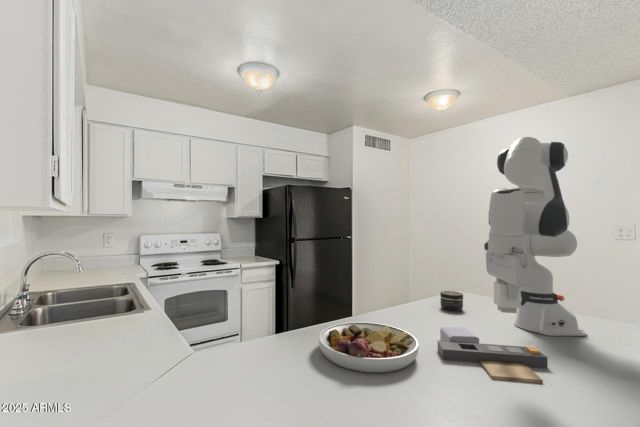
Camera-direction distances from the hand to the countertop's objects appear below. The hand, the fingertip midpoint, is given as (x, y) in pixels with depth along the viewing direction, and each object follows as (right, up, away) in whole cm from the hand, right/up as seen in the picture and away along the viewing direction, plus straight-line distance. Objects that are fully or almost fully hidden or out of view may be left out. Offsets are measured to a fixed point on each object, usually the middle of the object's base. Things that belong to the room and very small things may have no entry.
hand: (507, 297), depth 85 cm
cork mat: (0, -20, -1) cm, 20 cm away
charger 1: (-5, -21, +21) cm, 30 cm away
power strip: (-1, -21, +8) cm, 22 cm away
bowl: (-37, -21, +11) cm, 43 cm away
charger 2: (0, -4, 0) cm, 4 cm away
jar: (+11, -23, +62) cm, 66 cm away
